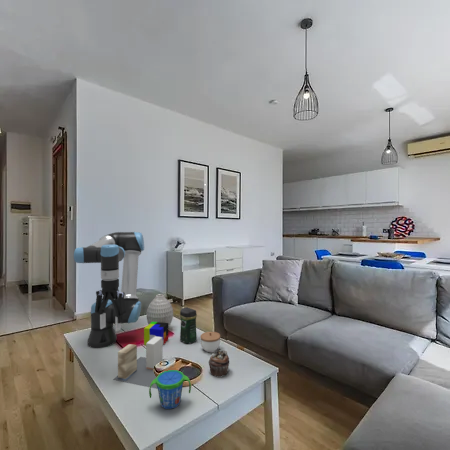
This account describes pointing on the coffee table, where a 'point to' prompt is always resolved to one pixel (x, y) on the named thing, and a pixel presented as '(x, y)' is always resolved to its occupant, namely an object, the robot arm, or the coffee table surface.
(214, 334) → the lidded jar
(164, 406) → the snack cup
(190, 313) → the coffee jar
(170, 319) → the vase
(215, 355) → the cupcake
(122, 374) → the oak slab
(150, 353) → the cream slab
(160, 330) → the puzzle toy
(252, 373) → the coffee table surface
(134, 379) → the mat
